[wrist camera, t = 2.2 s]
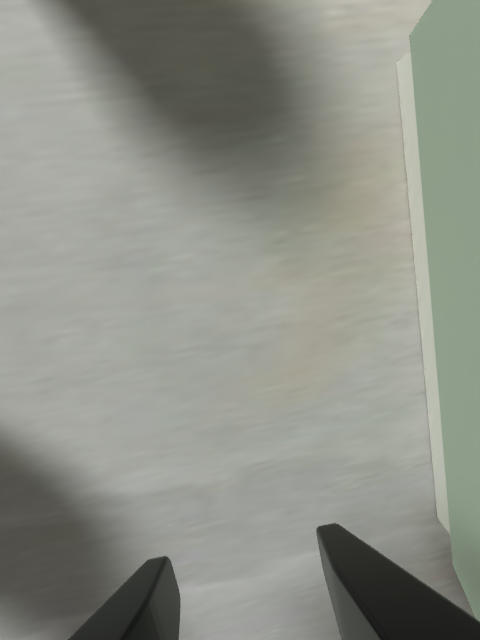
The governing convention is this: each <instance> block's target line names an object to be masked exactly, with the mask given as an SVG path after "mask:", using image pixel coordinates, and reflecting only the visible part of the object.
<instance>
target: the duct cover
mask: <svg viewBox="0 0 480 640" xmlns="http://www.w3.org/2000/svg"><path fill="white" fill-rule="evenodd" d="M409 38H410V51H411V63H412V75H413V87H414V99H415V111H416V124H417V136H418V148H419V160H420V172H421V184H422V197H423V209H424V221H425V233H426V245H427V257H428V269H429V282H430V294H431V306H432V318H433V330H434V342H435V355H436V367H437V379H438V391H439V403H440V415H441V428H442V440H443V452H444V464H445V476H446V488H447V501H448V513H449V525H450V537H451V549H452V561H453V567H454V569H455V572H456V574H457V576H458V579H459V581H460V583H461V586H462V588H463V590H464V593H465V595H466V597H467V599H468V602H469V604H470V606H471V609H472V611H473V613H474V616H475V618H476V619H477V620H478V621H480V0H433V1H432V2H431V4H430V5H429V7H428V8H427V10H426V11H425V13H424V14H423V16H422V17H421V19H420V20H419V22H418V23H417V25H416V26H415V28H414V29H413V31H412V32H411V34H410V35H409Z"/></svg>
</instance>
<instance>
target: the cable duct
mask: <svg viewBox="0 0 480 640" xmlns="http://www.w3.org/2000/svg"><path fill="white" fill-rule="evenodd" d="M397 74H398V85H399V97H400V108H401V119H402V130H403V141H404V152H405V163H406V174H407V185H408V196H409V208H410V219H411V230H412V241H413V252H414V263H415V274H416V285H417V296H418V308H419V319H420V330H421V341H422V352H423V363H424V374H425V385H426V396H427V408H428V419H429V430H430V441H431V452H432V463H433V474H434V485H435V496H436V508H437V518H438V519H439V521H440V522H441V523H442V525H443V526H444V528H445V529H446V530H447V532H448V533H449V534H450V525H449V513H448V501H447V488H446V476H445V464H444V452H443V440H442V428H441V415H440V403H439V391H438V379H437V367H436V355H435V342H434V330H433V318H432V306H431V294H430V282H429V269H428V257H427V245H426V233H425V221H424V209H423V197H422V184H421V172H420V160H419V148H418V136H417V124H416V111H415V99H414V87H413V75H412V63H411V51H409V52H408V53H407V54H406V55H405V56H404V57H403V58H402V59H401V60H399V61H398V62H397Z"/></svg>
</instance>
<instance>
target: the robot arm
mask: <svg viewBox="0 0 480 640" xmlns="http://www.w3.org/2000/svg"><path fill="white" fill-rule="evenodd" d="M316 532H317V539H318V544H319V550H320V556H321V561H322V566H323V571H324V575H325V579H326V583H327V586H328V590H329V594H330V598H331V601H332V605H333V609H334V612H335V616H336V620H337V624H338V627H339V631H340V635H341V638H342V640H480V621H478V620H477V619H475V618H474V617H473V616H471V615H470V614H468V613H467V612H465V611H464V610H462V609H461V608H459V607H458V606H457V605H455V604H454V603H452V602H451V601H449V600H448V599H446V598H445V597H443V596H442V595H440V594H439V593H438V592H436V591H435V590H433V589H432V588H430V587H429V586H427V585H426V584H424V583H423V582H422V581H420V580H419V579H417V578H416V577H414V576H413V575H411V574H410V573H408V572H407V571H406V570H404V569H403V568H401V567H400V566H398V565H397V564H395V563H394V562H392V561H391V560H390V559H388V558H387V557H385V556H384V555H382V554H381V553H379V552H378V551H376V550H375V549H374V548H372V547H371V546H369V545H368V544H366V543H365V542H363V541H362V540H360V539H359V538H358V537H356V536H355V535H353V534H352V533H350V532H349V531H347V530H346V529H344V528H343V527H342V526H340V525H339V524H336V523H333V524H328V525H322V526H319V527H317V530H316ZM179 622H180V594H179V589H178V585H177V581H176V578H175V574H174V571H173V567H172V564H171V561H170V559H169V558H168V557H167V556H163V557H158V558H153V559H149V560H147V561H146V562H145V563H144V564H143V565H142V566H141V567H140V568H139V569H138V570H137V571H136V572H135V573H134V574H133V575H132V576H131V577H130V578H129V579H128V580H127V581H126V582H125V583H124V584H123V585H122V586H121V587H120V588H119V589H118V590H117V591H116V592H115V593H114V594H113V595H112V596H111V597H110V598H109V599H108V600H107V601H106V602H105V603H104V604H103V605H102V606H101V607H100V608H99V609H98V610H97V611H96V612H95V613H94V614H93V615H92V616H91V617H90V618H89V619H88V620H87V621H86V622H85V623H84V624H83V625H82V626H81V627H80V628H79V629H78V630H77V631H76V632H75V633H74V634H73V635H72V636H71V637H70V638H69V639H68V640H179Z"/></svg>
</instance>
